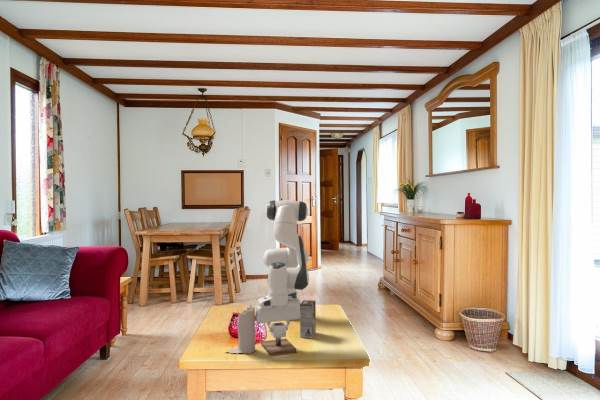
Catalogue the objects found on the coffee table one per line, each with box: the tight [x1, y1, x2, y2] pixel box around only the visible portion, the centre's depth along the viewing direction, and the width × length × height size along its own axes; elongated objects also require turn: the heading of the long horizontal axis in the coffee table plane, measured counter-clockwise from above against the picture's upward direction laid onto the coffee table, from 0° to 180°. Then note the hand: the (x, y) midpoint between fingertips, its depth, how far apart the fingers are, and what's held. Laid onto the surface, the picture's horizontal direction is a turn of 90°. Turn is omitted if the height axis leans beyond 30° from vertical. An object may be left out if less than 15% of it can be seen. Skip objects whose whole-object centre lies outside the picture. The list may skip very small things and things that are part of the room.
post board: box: [260, 338, 298, 357], centre depth 188 cm, size 15×12×2 cm
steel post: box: [275, 337, 282, 346], centre depth 188 cm, size 2×2×6 cm
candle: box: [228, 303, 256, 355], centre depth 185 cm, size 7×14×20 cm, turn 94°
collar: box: [270, 321, 287, 339], centre depth 188 cm, size 5×5×5 cm
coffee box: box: [299, 299, 317, 339], centre depth 207 cm, size 9×6×16 cm
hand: (278, 330), depth 188 cm, fingers closed on collar, 5 cm apart
